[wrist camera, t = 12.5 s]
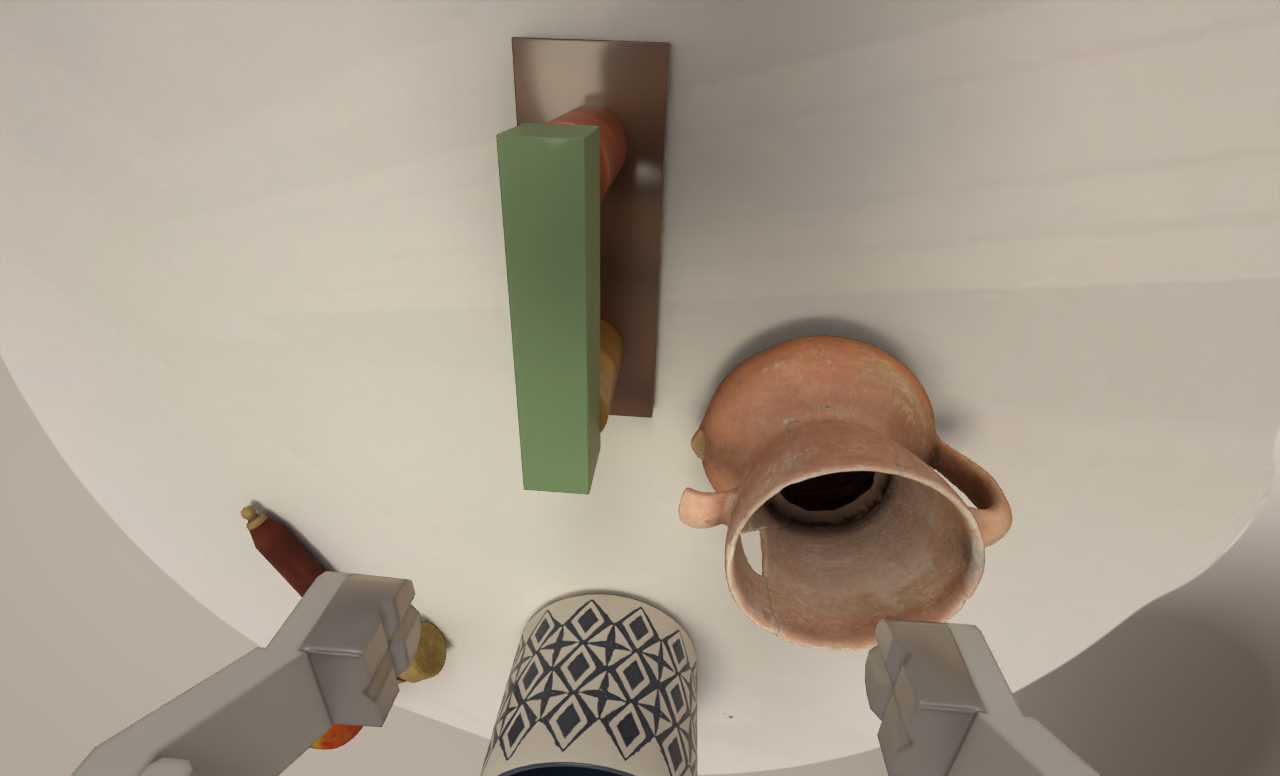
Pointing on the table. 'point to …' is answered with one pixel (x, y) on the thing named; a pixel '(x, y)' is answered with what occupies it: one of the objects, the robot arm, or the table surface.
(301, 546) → the gavel
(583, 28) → the table surface
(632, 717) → the planter
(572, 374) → the bar
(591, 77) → the rod stand
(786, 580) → the ceramic jug
